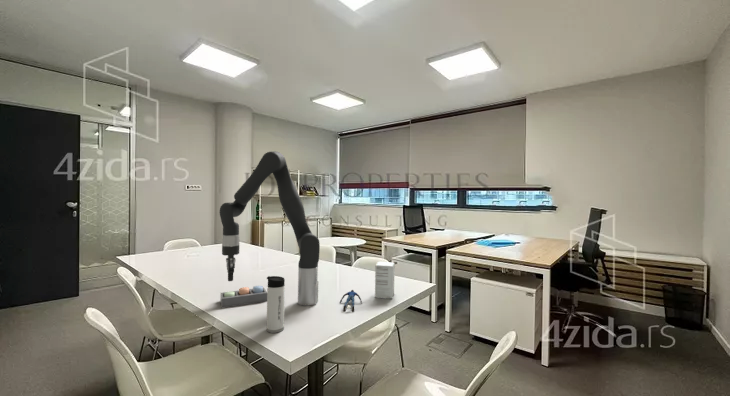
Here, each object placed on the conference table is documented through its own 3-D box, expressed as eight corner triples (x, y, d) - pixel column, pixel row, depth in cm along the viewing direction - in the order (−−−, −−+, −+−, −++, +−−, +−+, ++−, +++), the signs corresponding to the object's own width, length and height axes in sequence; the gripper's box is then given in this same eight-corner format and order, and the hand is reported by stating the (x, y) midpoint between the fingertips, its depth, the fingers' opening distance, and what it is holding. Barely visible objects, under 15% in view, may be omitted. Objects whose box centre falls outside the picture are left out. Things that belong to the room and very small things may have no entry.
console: (263, 295, 150) (263, 287, 150) (267, 301, 141) (267, 292, 141) (220, 301, 140) (220, 292, 140) (221, 307, 132) (221, 298, 132)
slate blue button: (261, 292, 147) (262, 285, 147) (263, 294, 143) (263, 287, 143) (252, 293, 145) (252, 286, 145) (253, 296, 141) (253, 288, 141)
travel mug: (267, 326, 113) (269, 274, 114) (285, 325, 114) (286, 274, 114) (263, 333, 107) (264, 279, 107) (282, 333, 108) (283, 278, 108)
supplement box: (377, 292, 158) (377, 261, 158) (394, 293, 156) (394, 262, 157) (374, 297, 149) (375, 264, 149) (392, 299, 147) (393, 265, 147)
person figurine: (360, 316, 129) (363, 297, 147) (360, 306, 129) (363, 288, 147) (336, 315, 130) (341, 296, 148) (336, 305, 129) (341, 288, 147)
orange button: (248, 293, 144) (248, 286, 144) (249, 296, 140) (249, 289, 140) (238, 295, 142) (238, 288, 142) (239, 298, 138) (239, 290, 138)
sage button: (234, 298, 141) (234, 291, 141) (235, 301, 137) (235, 293, 137) (223, 299, 139) (223, 292, 139) (224, 302, 135) (224, 295, 135)
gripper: (221, 243, 142) (221, 278, 142) (222, 246, 131) (222, 285, 131) (238, 242, 146) (237, 276, 146) (240, 245, 134) (240, 283, 134)
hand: (230, 280), depth 138 cm, fingers closed
